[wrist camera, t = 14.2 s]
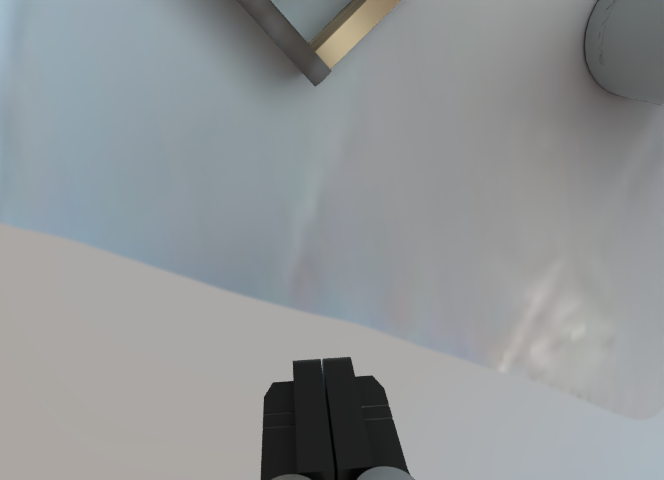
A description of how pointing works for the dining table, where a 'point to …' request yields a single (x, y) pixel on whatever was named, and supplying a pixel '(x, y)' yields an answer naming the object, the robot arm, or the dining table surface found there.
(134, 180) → the dining table surface
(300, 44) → the oak caddy
